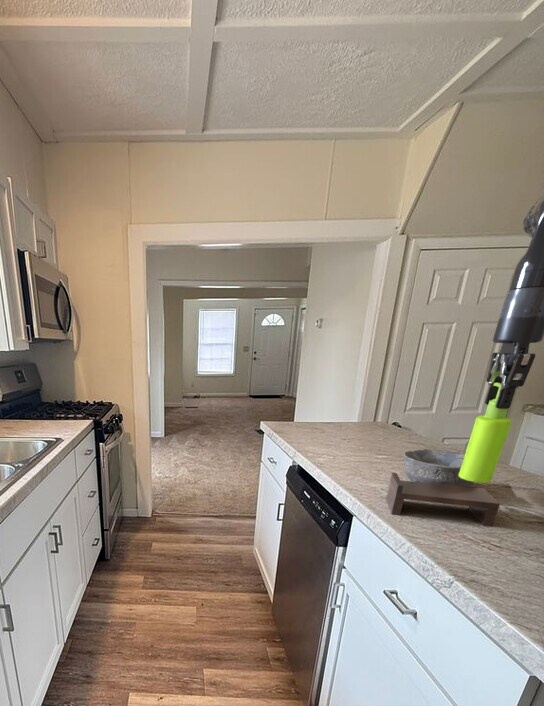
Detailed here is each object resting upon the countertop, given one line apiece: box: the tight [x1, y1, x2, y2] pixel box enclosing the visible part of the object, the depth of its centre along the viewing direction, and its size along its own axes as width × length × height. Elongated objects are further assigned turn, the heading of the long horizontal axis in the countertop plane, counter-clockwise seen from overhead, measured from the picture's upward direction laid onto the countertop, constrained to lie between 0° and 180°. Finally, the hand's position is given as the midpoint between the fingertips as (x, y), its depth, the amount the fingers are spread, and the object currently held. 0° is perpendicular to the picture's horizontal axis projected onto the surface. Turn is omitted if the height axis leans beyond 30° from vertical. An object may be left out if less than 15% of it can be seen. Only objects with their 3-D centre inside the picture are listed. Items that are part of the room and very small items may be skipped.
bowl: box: [403, 449, 475, 487], centre depth 122 cm, size 21×21×10 cm
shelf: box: [385, 472, 501, 527], centre depth 105 cm, size 22×12×8 cm, turn 69°
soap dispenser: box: [458, 383, 513, 484], centre depth 85 cm, size 6×7×20 cm
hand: (496, 406), depth 83 cm, fingers closed on soap dispenser, 5 cm apart
